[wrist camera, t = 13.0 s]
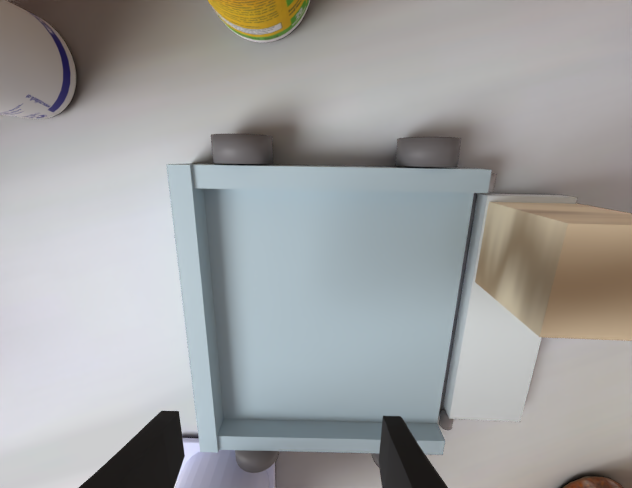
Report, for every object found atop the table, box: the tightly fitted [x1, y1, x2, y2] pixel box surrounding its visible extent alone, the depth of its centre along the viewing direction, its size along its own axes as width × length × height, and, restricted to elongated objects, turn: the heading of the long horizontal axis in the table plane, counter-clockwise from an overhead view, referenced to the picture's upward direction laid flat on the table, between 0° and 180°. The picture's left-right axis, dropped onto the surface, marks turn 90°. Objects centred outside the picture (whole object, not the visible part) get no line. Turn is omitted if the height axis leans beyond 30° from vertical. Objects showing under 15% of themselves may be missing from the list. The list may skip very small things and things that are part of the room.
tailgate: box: [443, 193, 577, 422], centre depth 20 cm, size 16×2×5 cm
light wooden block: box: [475, 202, 632, 341], centre depth 15 cm, size 5×5×6 cm
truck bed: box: [166, 134, 497, 473], centre depth 19 cm, size 22×18×3 cm
